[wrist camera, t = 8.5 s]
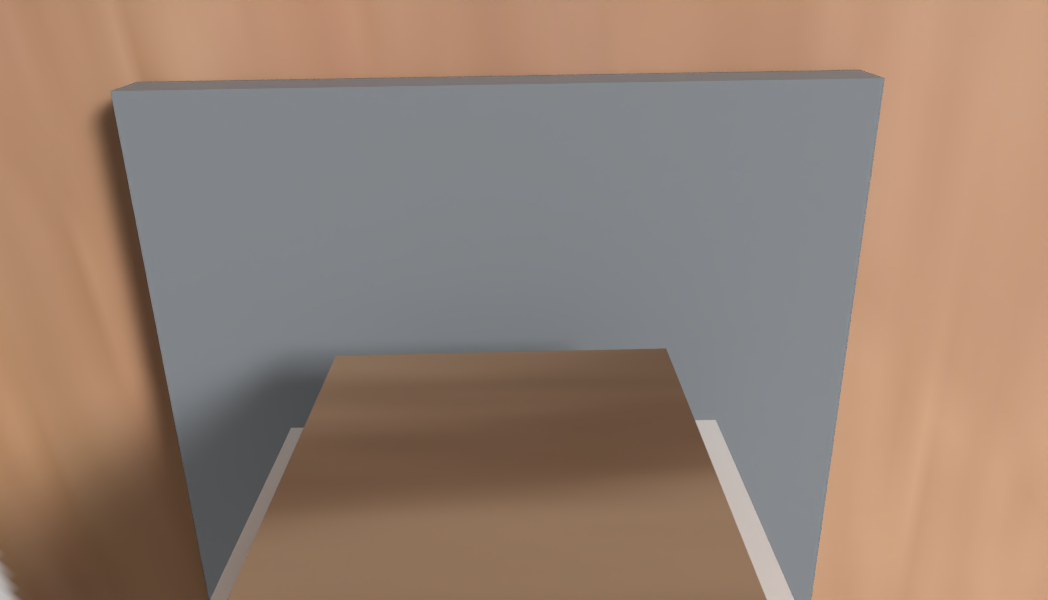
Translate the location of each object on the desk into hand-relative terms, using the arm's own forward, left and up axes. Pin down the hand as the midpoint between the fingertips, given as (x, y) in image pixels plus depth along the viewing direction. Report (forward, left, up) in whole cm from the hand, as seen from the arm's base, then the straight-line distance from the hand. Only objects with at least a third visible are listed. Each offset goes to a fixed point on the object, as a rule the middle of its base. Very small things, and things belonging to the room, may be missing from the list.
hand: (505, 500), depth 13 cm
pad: (0, 0, -3) cm, 3 cm away
